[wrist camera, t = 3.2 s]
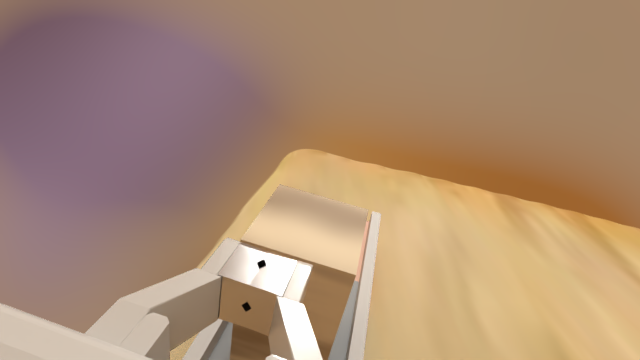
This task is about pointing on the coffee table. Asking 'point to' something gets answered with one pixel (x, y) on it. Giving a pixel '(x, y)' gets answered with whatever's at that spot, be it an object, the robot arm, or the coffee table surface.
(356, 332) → the lane
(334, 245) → the block
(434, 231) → the coffee table surface
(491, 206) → the coffee table surface
